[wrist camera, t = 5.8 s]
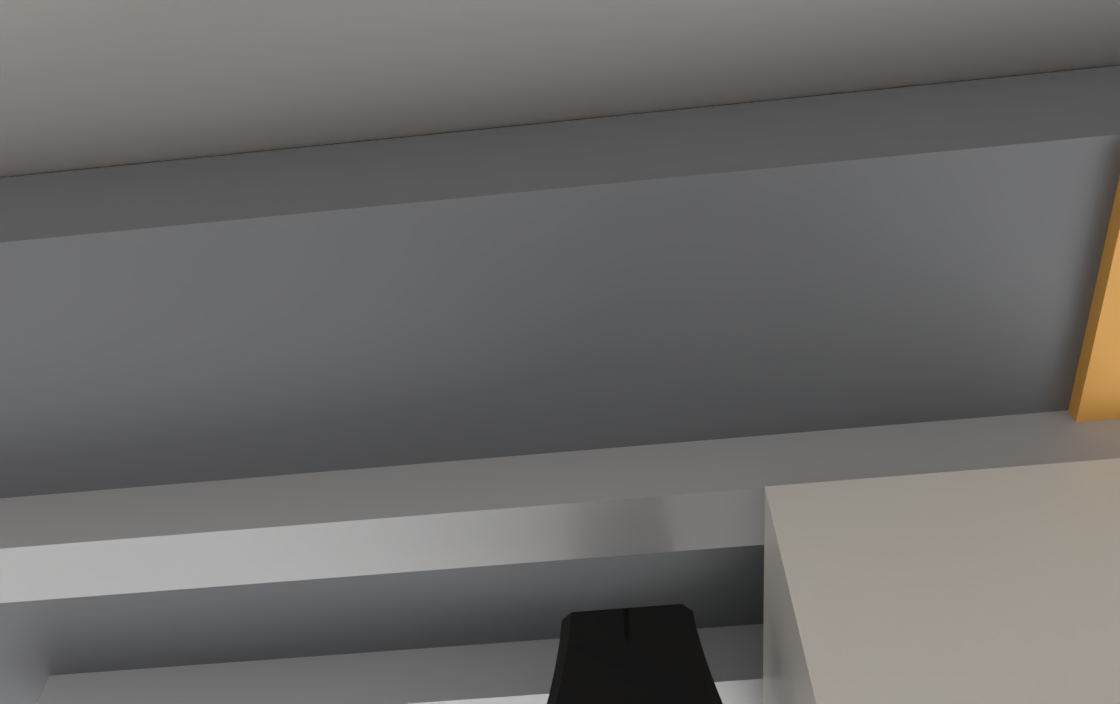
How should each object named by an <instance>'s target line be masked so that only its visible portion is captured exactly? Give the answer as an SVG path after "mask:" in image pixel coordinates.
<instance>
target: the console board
mask: <svg viewBox="0 0 1120 704" xmlns="http://www.w3.org/2000/svg"><path fill="white" fill-rule="evenodd" d="M1116 458H1120V66H1110V67H1100V68H1090V69H1080V70H1070V71H1060V72H1050V73H1040V74H1030V75H1020V76H1011V77H1001V78H991V79H981V80H971V81H961V82H951V83H941V84H931V85H921V86H911V87H901V88H891V89H881V90H871V91H861V92H851V93H841V94H831V95H821V96H811V97H801V98H791V99H781V100H771V101H761V102H751V103H741V104H731V105H721V106H711V107H701V108H691V109H681V110H671V111H661V112H651V113H641V114H632V115H622V116H612V117H602V118H592V119H582V120H572V121H562V122H552V123H542V124H532V125H522V126H512V127H502V128H492V129H482V130H472V131H462V132H452V133H442V134H432V135H422V136H412V137H402V138H392V139H382V140H372V141H362V142H352V143H342V144H332V145H322V146H312V147H302V148H292V149H282V150H272V151H262V152H252V153H243V154H233V155H223V156H213V157H203V158H193V159H183V160H173V161H163V162H153V163H143V164H133V165H123V166H113V167H103V168H93V169H83V170H73V171H63V172H53V173H43V174H33V175H23V176H13V177H3V178H0V704H547V701H548V697H549V693H550V688H551V684H552V679H553V675H554V670H555V665H556V659H557V653H558V648H559V641H560V632H561V623H562V620H563V619H564V618H565V617H566V616H567V615H569V614H570V613H571V612H579V611H593V610H606V609H619V608H633V607H646V606H660V605H673V604H683V605H684V606H686V607H688V608H689V609H691V610H692V611H693V614H694V619H695V624H696V628H697V632H698V635H699V638H700V642H701V645H702V649H703V652H704V655H705V658H706V661H707V664H708V667H709V669H710V672H711V675H712V677H713V680H714V683H715V686H716V688H717V691H718V693H719V696H720V698H721V700H722V703H723V704H763V625H764V513H765V486H777V485H790V484H802V483H815V482H828V481H840V480H853V479H865V478H878V477H890V476H903V475H915V474H928V473H940V472H953V471H965V470H978V469H991V468H1003V467H1016V466H1028V465H1041V464H1053V463H1066V462H1078V461H1091V460H1103V459H1116Z"/></svg>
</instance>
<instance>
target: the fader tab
mask: <svg viewBox="0 0 1120 704" xmlns="http://www.w3.org/2000/svg"><path fill="white" fill-rule="evenodd" d="M763 704H1120V458H1116V459H1103V460H1091V461H1078V462H1066V463H1053V464H1041V465H1028V466H1016V467H1003V468H991V469H978V470H965V471H953V472H940V473H928V474H915V475H903V476H890V477H878V478H865V479H853V480H840V481H828V482H815V483H802V484H790V485H777V486H765V513H764V625H763Z"/></svg>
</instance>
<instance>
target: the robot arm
mask: <svg viewBox="0 0 1120 704" xmlns="http://www.w3.org/2000/svg"><path fill="white" fill-rule="evenodd" d="M547 704H723V703H722V700H721V698H720V696H719V693H718V691H717V688H716V686H715V683H714V680H713V677H712V675H711V672H710V669H709V667H708V664H707V661H706V658H705V655H704V652H703V649H702V645H701V642H700V638H699V635H698V632H697V628H696V624H695V619H694V614H693V611H692V610H691V609H689V608H688V607H686V606H684V605H683V604H673V605H660V606H646V607H633V608H619V609H606V610H593V611H579V612H571V613H570V614H569V615H567V616H566V617H565V618H564V619H563V620H562V623H561V632H560V641H559V648H558V653H557V659H556V665H555V670H554V675H553V679H552V684H551V688H550V693H549V697H548V701H547Z"/></svg>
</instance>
